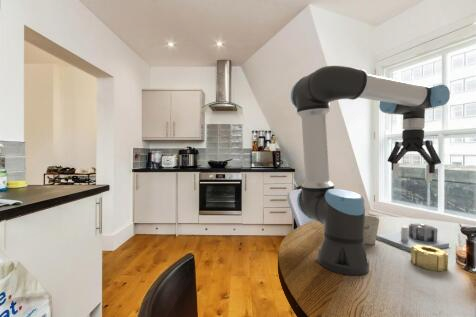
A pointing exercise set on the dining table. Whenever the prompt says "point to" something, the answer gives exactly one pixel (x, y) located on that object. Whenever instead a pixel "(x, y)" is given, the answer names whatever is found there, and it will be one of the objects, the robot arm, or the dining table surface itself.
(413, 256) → the gear
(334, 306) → the dining table surface
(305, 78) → the robot arm
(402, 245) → the gear board
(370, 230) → the mug
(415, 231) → the gear
